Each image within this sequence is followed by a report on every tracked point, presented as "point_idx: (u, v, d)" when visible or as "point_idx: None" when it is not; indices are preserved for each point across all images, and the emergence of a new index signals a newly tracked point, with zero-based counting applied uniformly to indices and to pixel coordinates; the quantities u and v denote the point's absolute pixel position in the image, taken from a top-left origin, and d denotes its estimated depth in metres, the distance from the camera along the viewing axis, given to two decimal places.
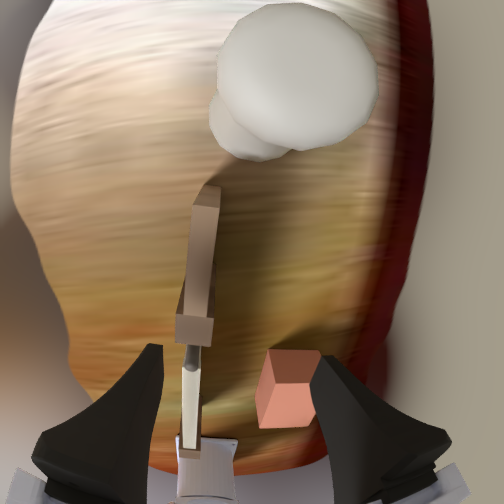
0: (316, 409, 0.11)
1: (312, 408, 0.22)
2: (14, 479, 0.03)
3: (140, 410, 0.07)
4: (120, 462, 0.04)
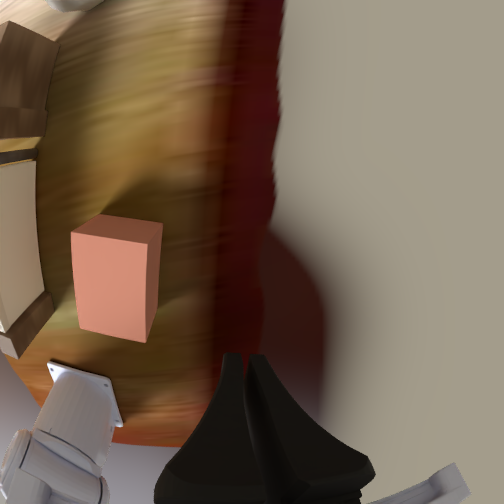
0: (246, 411, 0.11)
1: (135, 300, 0.15)
2: (14, 479, 0.03)
3: None
4: None
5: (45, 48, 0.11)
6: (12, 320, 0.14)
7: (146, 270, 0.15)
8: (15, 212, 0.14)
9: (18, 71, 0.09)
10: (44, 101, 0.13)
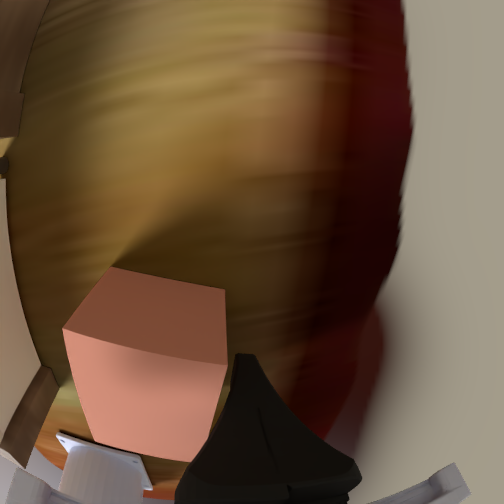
0: None
1: (192, 429, 0.08)
2: (14, 479, 0.03)
3: None
4: None
5: None
6: (5, 424, 0.07)
7: None
8: None
9: None
10: (19, 79, 0.07)
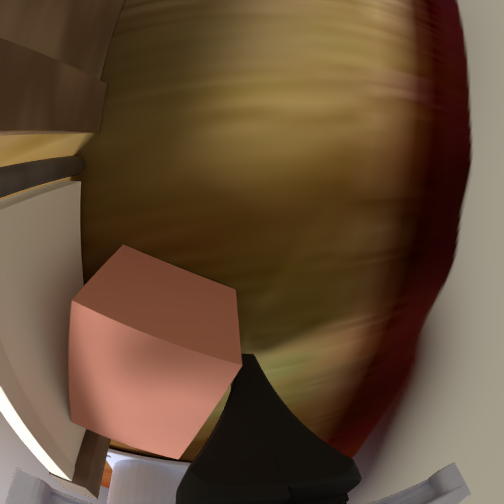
0: None
1: (183, 425, 0.08)
2: (14, 479, 0.03)
3: None
4: None
5: None
6: (75, 456, 0.08)
7: None
8: (50, 291, 0.07)
9: None
10: (100, 66, 0.07)
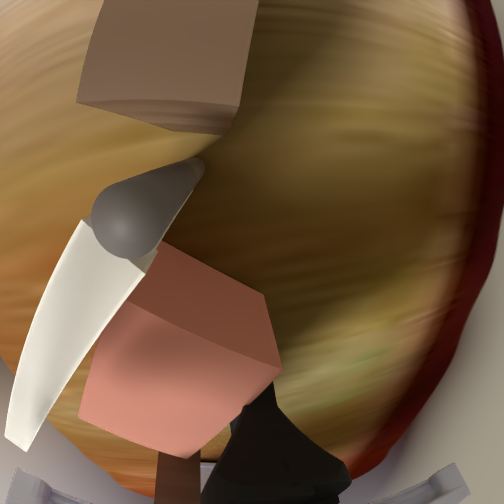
0: None
1: (205, 426, 0.08)
2: (14, 479, 0.03)
3: None
4: None
5: None
6: None
7: None
8: None
9: None
10: None
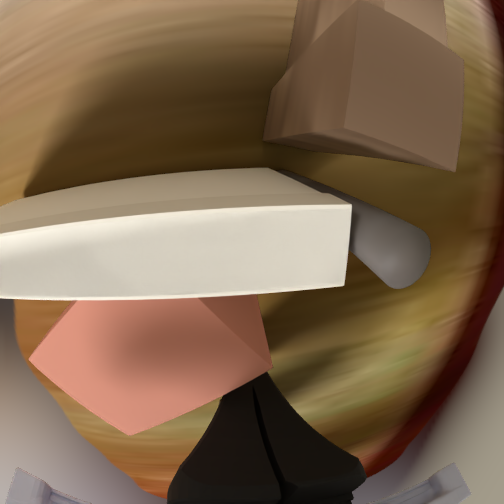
0: None
1: (168, 406, 0.08)
2: (14, 479, 0.03)
3: None
4: None
5: None
6: None
7: None
8: None
9: None
10: None
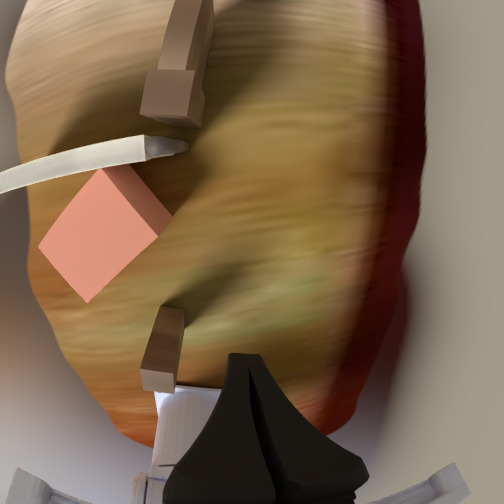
0: None
1: (108, 268, 0.14)
2: (14, 479, 0.03)
3: None
4: None
5: (211, 25, 0.12)
6: None
7: (138, 253, 0.14)
8: None
9: (202, 40, 0.11)
10: (201, 87, 0.15)
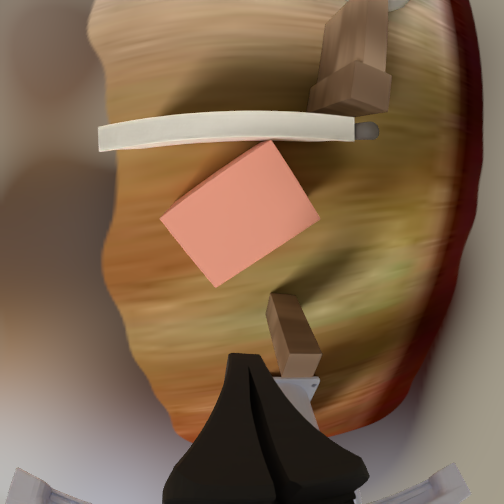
0: None
1: (257, 248, 0.15)
2: (14, 479, 0.03)
3: None
4: None
5: None
6: None
7: (294, 234, 0.15)
8: None
9: None
10: None
